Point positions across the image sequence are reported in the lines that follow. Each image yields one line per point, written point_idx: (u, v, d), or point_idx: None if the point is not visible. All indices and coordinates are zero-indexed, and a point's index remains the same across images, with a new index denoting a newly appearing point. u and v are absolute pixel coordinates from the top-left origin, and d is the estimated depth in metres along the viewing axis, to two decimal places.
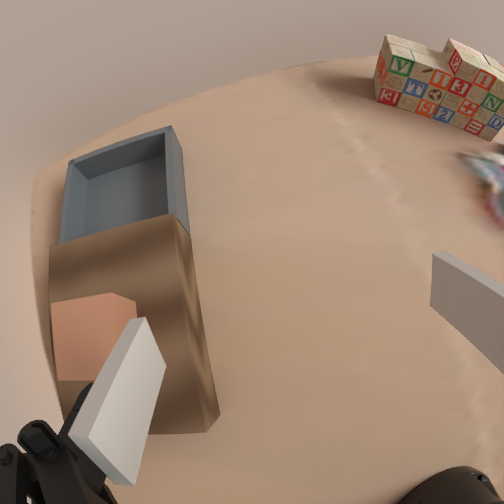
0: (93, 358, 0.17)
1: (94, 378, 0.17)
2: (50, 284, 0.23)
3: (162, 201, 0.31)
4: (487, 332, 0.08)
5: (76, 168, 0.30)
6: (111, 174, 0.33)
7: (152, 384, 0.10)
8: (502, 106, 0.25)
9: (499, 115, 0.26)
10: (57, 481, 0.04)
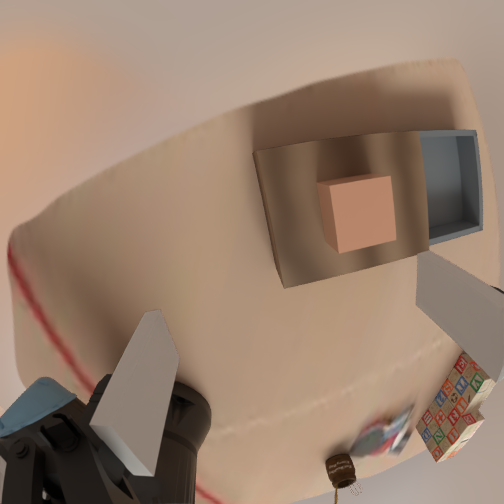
0: (352, 227, 0.24)
1: (337, 228, 0.24)
2: (389, 134, 0.26)
3: (431, 214, 0.34)
4: (470, 331, 0.08)
5: (468, 136, 0.28)
6: (457, 161, 0.32)
7: (167, 376, 0.11)
8: (434, 443, 0.42)
9: (430, 438, 0.43)
10: (77, 473, 0.04)
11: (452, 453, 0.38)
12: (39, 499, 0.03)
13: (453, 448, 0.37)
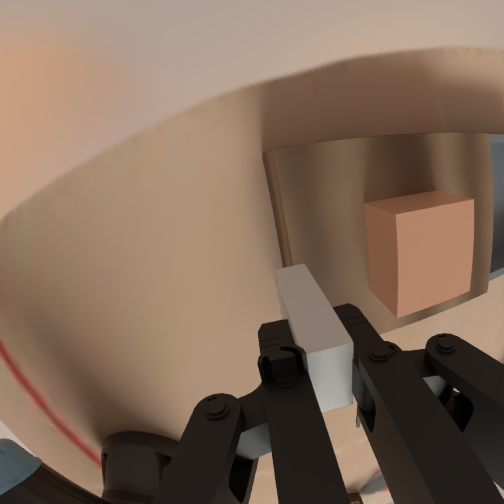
0: (420, 279, 0.14)
1: (400, 282, 0.14)
2: (458, 136, 0.16)
3: None
4: None
5: None
6: None
7: None
8: None
9: None
10: (293, 411, 0.06)
11: None
12: (227, 474, 0.05)
13: None
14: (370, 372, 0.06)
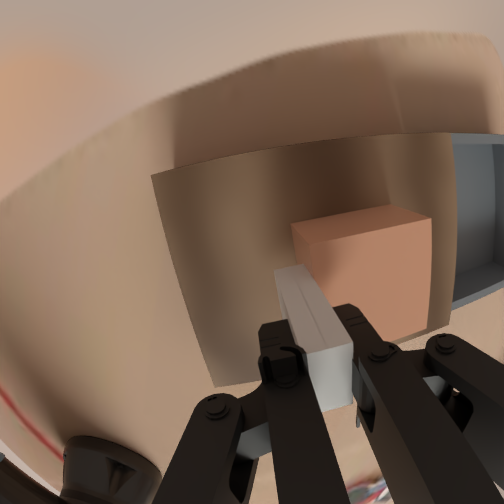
0: None
1: None
2: (403, 138, 0.14)
3: None
4: None
5: None
6: (492, 180, 0.20)
7: None
8: None
9: None
10: (293, 411, 0.06)
11: None
12: (227, 474, 0.05)
13: None
14: (370, 372, 0.06)
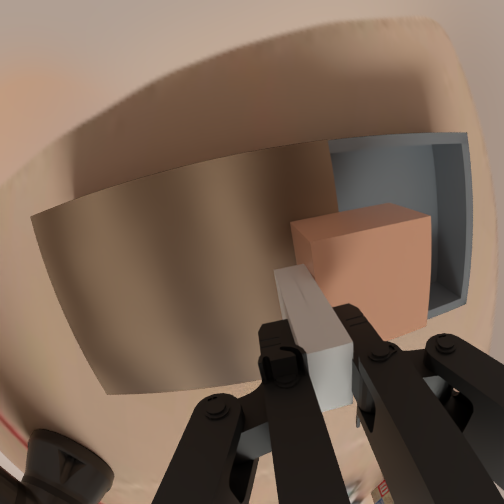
0: None
1: None
2: (252, 156, 0.14)
3: None
4: None
5: (453, 143, 0.16)
6: (432, 188, 0.20)
7: None
8: None
9: None
10: (293, 411, 0.06)
11: None
12: (227, 474, 0.05)
13: None
14: (370, 372, 0.06)
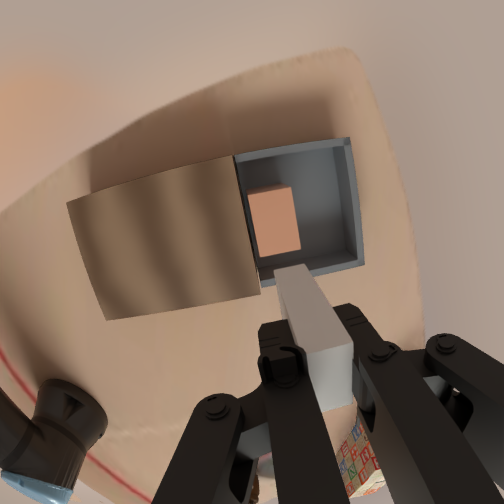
0: None
1: (297, 226, 0.27)
2: (189, 167, 0.26)
3: None
4: None
5: (340, 146, 0.28)
6: (333, 179, 0.32)
7: None
8: (348, 477, 0.41)
9: (345, 471, 0.43)
10: (293, 411, 0.06)
11: (369, 491, 0.38)
12: (227, 474, 0.05)
13: (366, 487, 0.37)
14: (370, 372, 0.06)
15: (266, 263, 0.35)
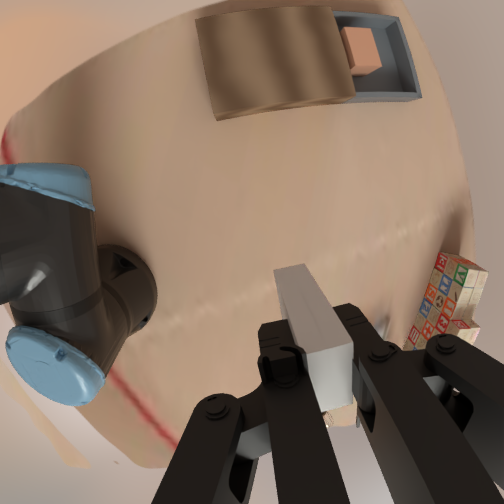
0: None
1: (377, 51, 0.29)
2: (303, 7, 0.27)
3: (366, 85, 0.36)
4: None
5: (392, 22, 0.29)
6: (388, 47, 0.33)
7: None
8: None
9: None
10: (293, 411, 0.06)
11: None
12: (226, 474, 0.05)
13: None
14: (370, 372, 0.06)
15: None
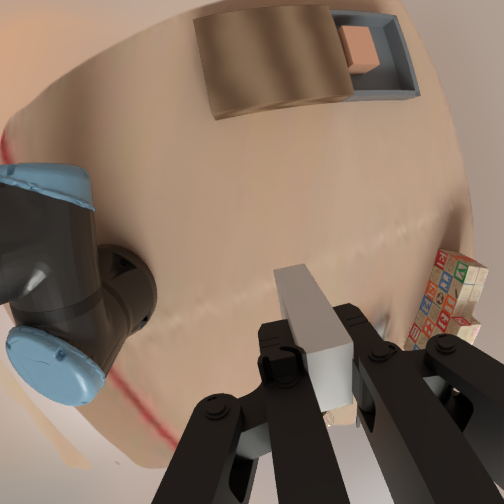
0: None
1: (375, 50, 0.29)
2: (300, 6, 0.27)
3: (365, 83, 0.36)
4: None
5: (390, 20, 0.29)
6: (386, 46, 0.34)
7: None
8: None
9: None
10: (293, 411, 0.06)
11: None
12: (227, 474, 0.05)
13: None
14: (370, 372, 0.06)
15: None
